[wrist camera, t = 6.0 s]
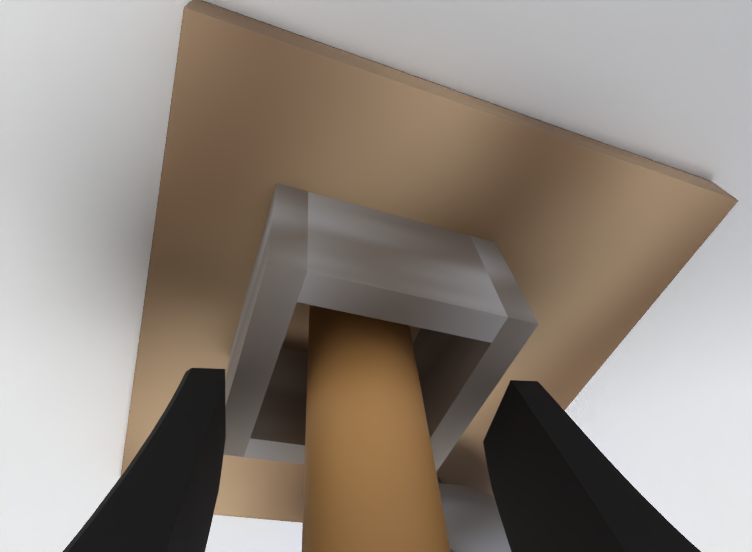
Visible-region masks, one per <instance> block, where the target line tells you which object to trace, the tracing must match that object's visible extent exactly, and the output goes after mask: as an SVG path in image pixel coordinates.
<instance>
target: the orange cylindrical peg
mask: <svg viewBox="0 0 752 552" xmlns="http://www.w3.org/2000/svg"><path fill="white" fill-rule="evenodd" d="M302 552H451V550H450V545H449V539H448V534H447V528H446V523H445V517H444V512H443V506H442V501H441V495H440V490H439V485H438V479H437V474H436V468H435V463H434V457H433V452H432V446H431V441H430V435H429V430H428V424H427V419H426V413H425V408H424V402H423V397H422V391H421V386H420V380H419V375H418V369H417V364H416V358H415V353H414V347H413V342H412V336H411V331H410V326H409V325H404V324H399V323H395V322H390V321H385V320H380V319H376V318H371V317H366V316H361V315H356V314H352V313H347V312H342V311H337V310H333V309H328V308H323V307H318V306H313V305H309V335H308V368H307V401H306V434H305V467H304V500H303V532H302Z"/></svg>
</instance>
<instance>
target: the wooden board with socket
mask: <svg viewBox="0 0 752 552" xmlns="http://www.w3.org/2000/svg"><path fill="white" fill-rule="evenodd" d="M737 202H738V200H737V199H736V198H734V197H733V196H731V195H730V194H729V193H727V192H726V191H724V190H723V189H722V188H720V187H719V186H717V185H716V184H715V183H713V182H711V181H708V180H705V179H702V178H700V177H697V176H694V175H691V174H688V173H685V172H683V171H680V170H677V169H674V168H671V167H669V166H666V165H663V164H660V163H657V162H655V161H652V160H649V159H646V158H643V157H640V156H638V155H635V154H632V153H629V152H626V151H624V150H621V149H618V148H615V147H612V146H609V145H607V144H604V143H601V142H598V141H595V140H593V139H590V138H587V137H584V136H581V135H578V134H576V133H573V132H570V131H567V130H564V129H562V128H559V127H556V126H553V125H550V124H548V123H545V122H542V121H539V120H536V119H533V118H531V117H528V116H525V115H522V114H519V113H517V112H514V111H511V110H508V109H505V108H502V107H500V106H497V105H494V104H491V103H488V102H486V101H483V100H480V99H477V98H474V97H472V96H469V95H466V94H463V93H460V92H457V91H455V90H452V89H449V88H446V87H443V86H441V85H438V84H435V83H432V82H429V81H426V80H424V79H421V78H418V77H415V76H412V75H410V74H407V73H404V72H401V71H398V70H395V69H393V68H390V67H387V66H384V65H381V64H379V63H376V62H373V61H370V60H367V59H365V58H362V57H359V56H356V55H353V54H350V53H348V52H345V51H342V50H339V49H336V48H334V47H331V46H328V45H325V44H322V43H319V42H317V41H314V40H311V39H308V38H305V37H303V36H300V35H297V34H294V33H291V32H288V31H286V30H283V29H280V28H277V27H274V26H272V25H269V24H266V23H263V22H260V21H258V20H255V19H252V18H249V17H246V16H243V15H241V14H238V13H235V12H232V11H229V10H227V9H224V8H221V7H218V6H215V5H212V4H210V3H207V2H204V1H201V0H192V1H191V2H189V3H188V4H187V5H186V6H185V7H184V11H183V19H182V26H181V33H180V41H179V48H178V56H177V63H176V70H175V78H174V85H173V93H172V100H171V107H170V115H169V122H168V130H167V137H166V144H165V152H164V159H163V167H162V174H161V181H160V189H159V196H158V204H157V211H156V219H155V226H154V233H153V241H152V248H151V256H150V263H149V270H148V278H147V285H146V293H145V300H144V307H143V315H142V322H141V330H140V337H139V344H138V352H137V359H136V367H135V374H134V381H133V389H132V396H131V404H130V411H129V419H128V426H127V433H126V441H125V448H124V456H123V463H122V470H121V476H122V475H123V473H124V472H125V470H126V469H127V467H128V466H129V465H130V463H131V462H132V460H133V459H134V457H135V456H136V454H137V453H138V451H139V450H140V448H141V447H142V445H143V444H144V442H145V441H146V439H147V438H148V436H149V435H150V433H151V432H152V430H153V429H154V427H155V425H156V424H157V422H158V421H159V419H160V417H161V416H162V414H163V413H164V411H165V409H166V407H167V406H168V404H169V402H170V401H171V399H172V397H173V395H174V393H175V392H176V390H177V388H178V386H179V384H180V382H181V380H182V378H183V376H184V374H185V372H186V371H187V370H189V369H190V368H213V369H225V407H226V439H225V447H224V455H223V463H222V470H221V478H220V485H219V492H218V496H217V500H216V505H215V509H214V513H213V515H224V516H235V517H246V518H257V519H269V520H280V521H291V522H302V523H303V500H304V467H305V434H306V401H307V368H308V335H309V305H313V306H318V307H323V308H328V309H333V310H337V311H342V312H347V313H352V314H356V315H361V316H366V317H371V318H376V319H380V320H385V321H390V322H395V323H399V324H404V325H409V326H410V331H411V336H412V342H413V347H414V353H415V358H416V364H417V369H418V375H419V380H420V386H421V391H422V397H423V402H424V408H425V413H426V419H427V424H428V430H429V435H430V441H431V446H432V452H433V457H434V463H435V468H436V474H437V479H438V485H439V490H440V495H441V501H442V506H443V512H444V517H445V523H446V528H447V534H448V539H449V545H450V550H451V552H511V549H510V546H509V543H508V540H507V536H506V533H505V530H504V527H503V524H502V521H501V517H500V514H499V511H498V508H497V505H496V501H495V498H494V495H493V491H492V487H491V482H490V478H489V473H488V468H487V462H486V456H485V450H484V445H483V440H484V438H485V436H486V434H487V432H488V429H489V427H490V425H491V423H492V420H493V418H494V416H495V414H496V411H497V409H498V407H499V405H500V402H501V400H502V398H503V396H504V394H505V391H506V389H507V387H508V385H509V382H510V380H520V381H538V382H539V383H540V384H541V385H542V386H543V387H544V388H545V390H546V391H547V392H548V393H549V394H550V395H551V396H552V397H553V398H554V400H555V401H556V402H557V403H558V404H559V405H560V406H561V408H562V409H563V410H565V409H566V408H567V407H568V405H569V404H570V403H571V402H572V401H573V399H574V398H575V397H576V396H577V395H578V393H579V392H580V391H581V390H582V389H583V387H584V386H585V385H586V384H587V383H588V381H589V380H590V379H591V378H592V376H593V375H594V374H595V373H596V372H597V370H598V369H599V368H600V367H601V366H602V364H603V363H604V362H605V361H606V360H607V358H608V357H609V356H610V355H611V354H612V352H613V351H614V350H615V349H616V348H617V346H618V345H619V344H620V343H621V342H622V340H623V339H624V338H625V337H626V335H627V334H628V333H629V332H630V331H631V329H632V328H633V327H634V326H635V325H636V323H637V322H638V321H639V320H640V319H641V317H642V316H643V315H644V314H645V313H646V311H647V310H648V309H649V308H650V307H651V305H652V304H653V303H654V302H655V300H656V299H657V298H658V297H659V296H660V294H661V293H662V292H663V291H664V290H665V288H666V287H667V286H668V285H669V284H670V282H671V281H672V280H673V279H674V278H675V276H676V275H677V274H678V273H679V272H680V270H681V269H682V268H683V267H684V266H685V264H686V263H687V262H688V261H689V259H690V258H691V257H692V256H693V255H694V253H695V252H696V251H697V250H698V249H699V247H700V246H701V245H702V244H703V243H704V241H705V240H706V239H707V238H708V237H709V235H710V234H711V233H712V232H713V231H714V229H715V228H716V227H717V226H718V224H719V223H720V222H721V221H722V220H723V218H724V217H725V216H726V215H727V214H728V212H729V211H730V210H731V209H732V208H733V206H734V205H735V204H736V203H737Z"/></svg>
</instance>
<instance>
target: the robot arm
mask: <svg viewBox="0 0 752 552" xmlns="http://www.w3.org/2000/svg"><path fill="white" fill-rule="evenodd" d="M225 439H226V407H225V369H213V368H190V369H189V370H187V371H186V372H185V374H184V376H183V378H182V380H181V382H180V384H179V386H178V388H177V390H176V392H175V393H174V395H173V397H172V399H171V401H170V402H169V404H168V406H167V407H166V409H165V411H164V413H163V414H162V416H161V417H160V419H159V421H158V422H157V424H156V425H155V427H154V429H153V430H152V432H151V433H150V435H149V436H148V438H147V439H146V441H145V442H144V444H143V445H142V447H141V448H140V450H139V451H138V453H137V454H136V456H135V457H134V459H133V460H132V462H131V463H130V465H129V466H128V467H127V469H126V470H125V472H124V473H123V475H122V476H121V477H120V479H119V480H118V481H117V483H116V484H115V485H114V487H113V488H112V489H111V491H110V492H109V493H108V495H107V496H106V497H105V499H104V500H103V501H102V503H101V504H100V505H99V507H98V508H97V509H96V511H95V512H94V513H93V515H92V516H91V517H90V519H89V520H88V521H87V522H86V524H85V525H84V526H83V527H82V529H81V530H80V531H79V532H78V534H77V535H76V536H75V537H74V539H73V540H72V541H71V542H70V544H69V545H68V546H67V547H66V548H65V550H64V551H63V552H205V548H206V544H207V539H208V535H209V531H210V526H211V522H212V518H213V513H214V509H215V505H216V500H217V496H218V492H219V485H220V478H221V470H222V463H223V455H224V447H225ZM483 445H484V450H485V456H486V462H487V468H488V473H489V478H490V482H491V487H492V491H493V495H494V498H495V501H496V505H497V508H498V511H499V514H500V517H501V521H502V524H503V527H504V530H505V533H506V536H507V540H508V543H509V546H510V549H511V552H701V551H700V550H698V549H697V548H696V547H695V546H694V545H693V544H692V543H691V542H689V541H688V540H687V539H686V538H685V537H684V536H683V535H682V534H681V533H680V532H679V531H678V530H677V529H676V528H674V527H673V526H672V525H671V524H670V523H669V522H668V521H667V520H666V519H665V518H664V517H663V516H662V515H661V514H660V513H659V512H658V511H657V510H656V509H655V508H654V507H653V506H652V505H651V504H650V503H649V502H648V501H647V500H646V499H645V498H644V497H643V496H642V495H641V494H640V493H639V492H638V491H637V490H636V489H635V488H634V487H633V486H632V485H631V484H630V483H629V481H628V480H627V479H626V478H625V477H624V476H623V475H622V474H621V473H620V472H619V471H618V470H617V469H616V468H615V467H614V466H613V465H612V463H611V462H610V461H609V460H608V459H607V458H606V457H605V456H604V455H603V454H602V453H601V451H600V450H599V449H598V448H597V447H596V446H595V445H594V444H593V443H592V441H591V440H590V439H589V438H588V437H587V436H586V435H585V434H584V432H583V431H582V430H581V429H580V428H579V427H578V426H577V425H576V423H575V422H574V421H573V420H572V419H571V418H570V417H569V415H568V414H567V413H566V412H565V411H564V410H563V409H562V408H561V406H560V405H559V404H558V403H557V402H556V401H555V400H554V398H553V397H552V396H551V395H550V394H549V393H548V392H547V391H546V390H545V388H544V387H543V386H542V385H541V384H540V383H539V382H538V381H520V380H510V382H509V385H508V387H507V389H506V391H505V394H504V396H503V398H502V400H501V402H500V405H499V407H498V409H497V411H496V414H495V416H494V418H493V420H492V423H491V425H490V427H489V429H488V432H487V434H486V436H485V438H484V440H483Z"/></svg>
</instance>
